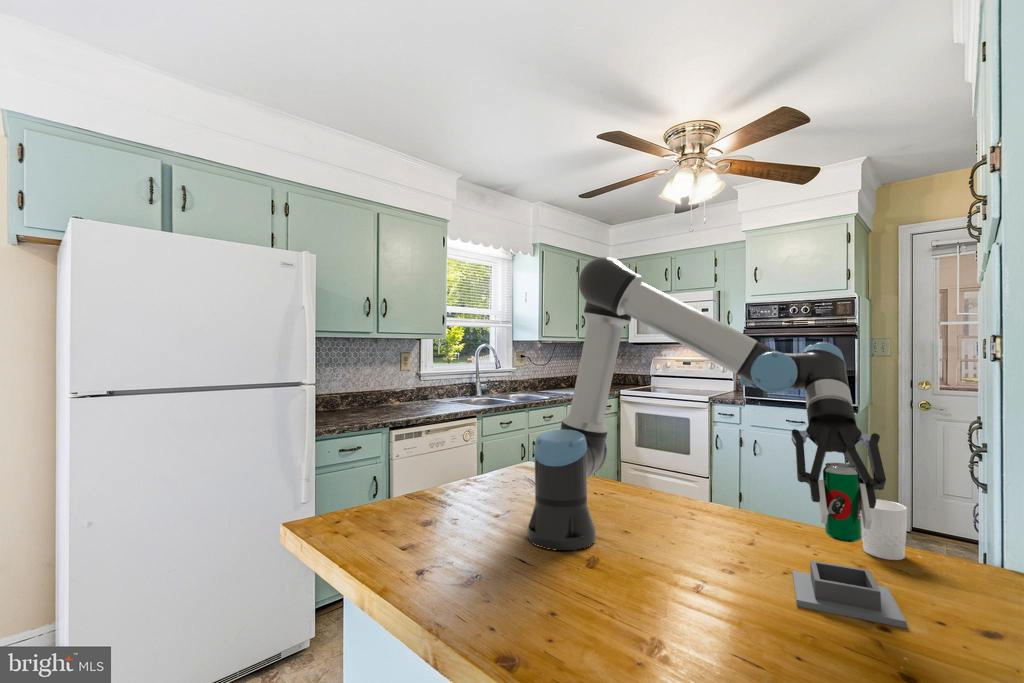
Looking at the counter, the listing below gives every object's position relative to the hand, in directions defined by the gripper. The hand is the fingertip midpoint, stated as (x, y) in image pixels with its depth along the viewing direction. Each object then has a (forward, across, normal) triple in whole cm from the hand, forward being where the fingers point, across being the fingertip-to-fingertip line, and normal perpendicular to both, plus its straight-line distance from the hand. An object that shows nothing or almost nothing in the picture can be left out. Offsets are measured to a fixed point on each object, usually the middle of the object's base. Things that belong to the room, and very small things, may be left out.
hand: (845, 521), depth 76 cm
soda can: (0, 0, -5) cm, 5 cm away
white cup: (-11, -10, -31) cm, 34 cm away
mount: (+7, 0, -12) cm, 14 cm away
